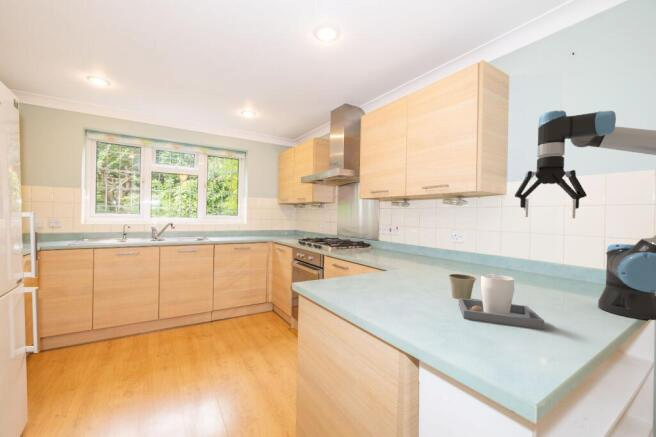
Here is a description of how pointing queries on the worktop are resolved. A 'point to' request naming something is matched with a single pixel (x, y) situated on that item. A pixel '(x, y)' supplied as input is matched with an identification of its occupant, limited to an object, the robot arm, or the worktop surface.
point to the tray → (516, 317)
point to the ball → (477, 308)
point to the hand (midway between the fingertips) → (548, 217)
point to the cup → (497, 293)
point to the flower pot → (461, 285)
